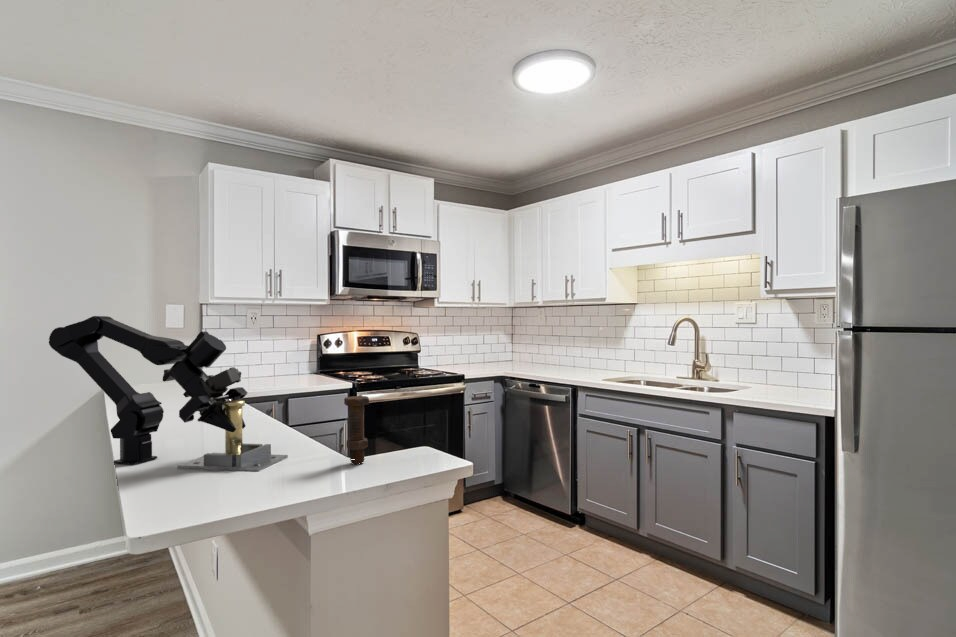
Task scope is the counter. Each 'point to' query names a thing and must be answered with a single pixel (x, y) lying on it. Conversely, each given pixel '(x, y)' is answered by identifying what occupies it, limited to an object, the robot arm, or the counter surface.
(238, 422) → the pin
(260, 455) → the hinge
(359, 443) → the bolt
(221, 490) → the counter surface
